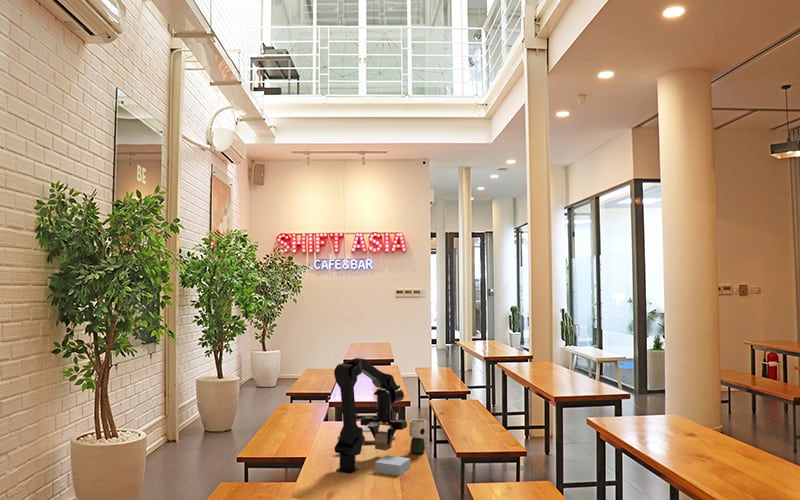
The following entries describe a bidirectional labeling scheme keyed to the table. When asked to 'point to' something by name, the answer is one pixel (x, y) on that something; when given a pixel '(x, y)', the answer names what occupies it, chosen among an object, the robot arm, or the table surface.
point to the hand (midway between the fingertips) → (383, 444)
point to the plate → (370, 431)
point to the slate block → (392, 465)
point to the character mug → (417, 435)
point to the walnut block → (382, 441)
